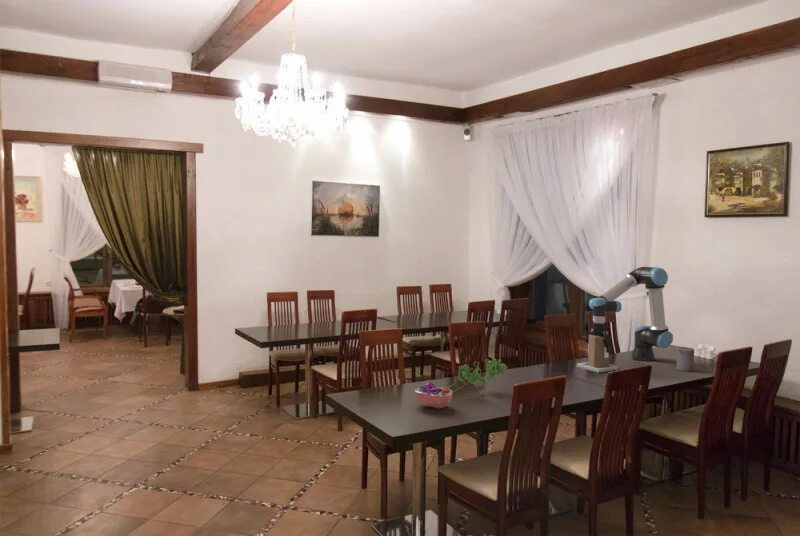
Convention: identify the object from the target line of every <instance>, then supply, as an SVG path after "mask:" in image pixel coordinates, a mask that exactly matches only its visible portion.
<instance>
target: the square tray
mask: <svg viewBox="0 0 800 536" xmlns="http://www.w3.org/2000/svg"><path fill="white" fill-rule="evenodd" d="M576 367H577V368H579V369H583V370H586V371H591V372H595V373H599V372H600V373H604V372H612V371H613V370H615V371H619V370H618V369H620V366H618V365H614V364H610V363H609V367H604V368H595V367H592V366H589V365H588V361H587V362H579V363H578V362H577V363H576ZM600 373H599V374H600Z"/></svg>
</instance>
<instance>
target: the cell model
mask: <svg viewBox="0 0 800 536" xmlns="http://www.w3.org/2000/svg"><path fill="white" fill-rule="evenodd" d="M414 392H415V394H416V399H417V400H418V402H419V404H420V405H422V406H423V407H426V408H427V407H428V408H434V409H438V410H439V409H442V408H445V407H448V406H449V404H450V403H451V401H452V398H453V397H452V396H453V393H454V392H453V390H452V389H450V387H443V386H437V385H436V386H435V384H434V383H432V382H427V383H425V384H424V386H423V385H422V386H419V387H418V386H417V388H415V389H414Z"/></svg>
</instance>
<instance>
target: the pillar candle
mask: <svg viewBox="0 0 800 536" xmlns="http://www.w3.org/2000/svg"><path fill="white" fill-rule="evenodd" d="M676 348H677V349H676V351H677V352H676V353H677V354H676V370H677V371H682V372H689V371H690V372H693V371H694V365H695V362H694V361H695V349H694V348H691V347H687V346H685V347H684V346H683V347H681V346H680V347H676Z"/></svg>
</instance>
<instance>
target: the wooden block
mask: <svg viewBox="0 0 800 536" xmlns="http://www.w3.org/2000/svg"><path fill="white" fill-rule="evenodd" d="M609 338H610V339H611V337H610V336H609ZM603 339H604V340H606V339H605V337H600V336H596V335H589V347H588V346H587V347H588V348H587V358H588V359H587V362H588V365H589V366H592V367H595V368H604V367H609V364H610V352H611V350H610V349H611V347H609V353H608V358H604V350H605V345H604V343H603Z"/></svg>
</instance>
